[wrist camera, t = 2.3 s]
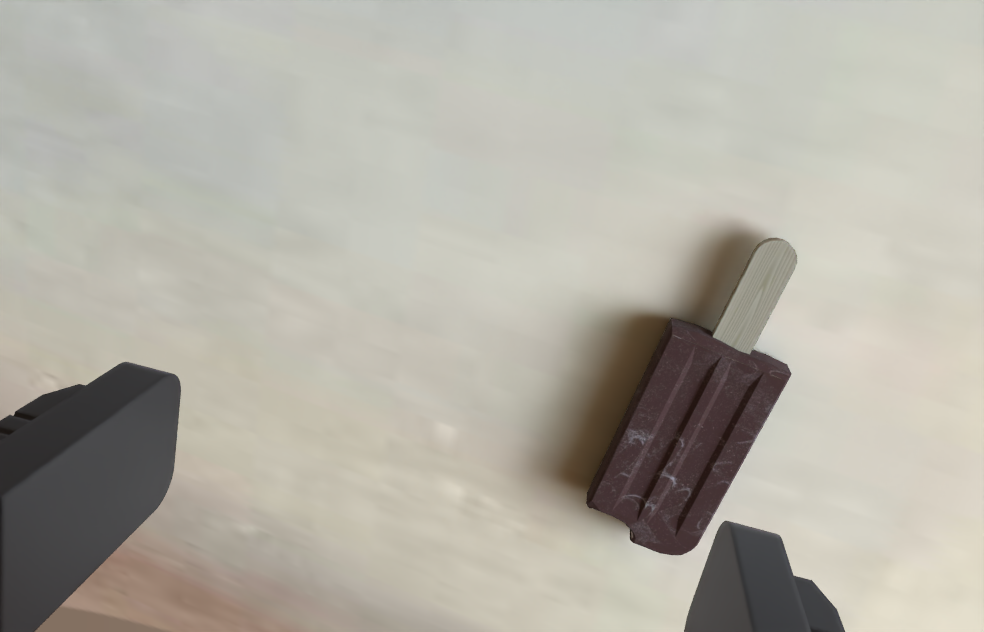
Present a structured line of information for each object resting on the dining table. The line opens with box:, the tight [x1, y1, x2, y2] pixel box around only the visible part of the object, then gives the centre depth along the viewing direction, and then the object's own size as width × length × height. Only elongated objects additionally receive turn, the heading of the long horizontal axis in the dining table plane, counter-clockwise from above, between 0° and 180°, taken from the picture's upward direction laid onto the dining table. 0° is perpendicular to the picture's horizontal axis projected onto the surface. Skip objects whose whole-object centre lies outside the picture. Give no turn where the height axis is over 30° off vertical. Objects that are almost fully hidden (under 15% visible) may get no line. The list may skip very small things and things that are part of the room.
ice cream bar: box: [586, 238, 797, 555], centre depth 36 cm, size 5×2×15 cm
